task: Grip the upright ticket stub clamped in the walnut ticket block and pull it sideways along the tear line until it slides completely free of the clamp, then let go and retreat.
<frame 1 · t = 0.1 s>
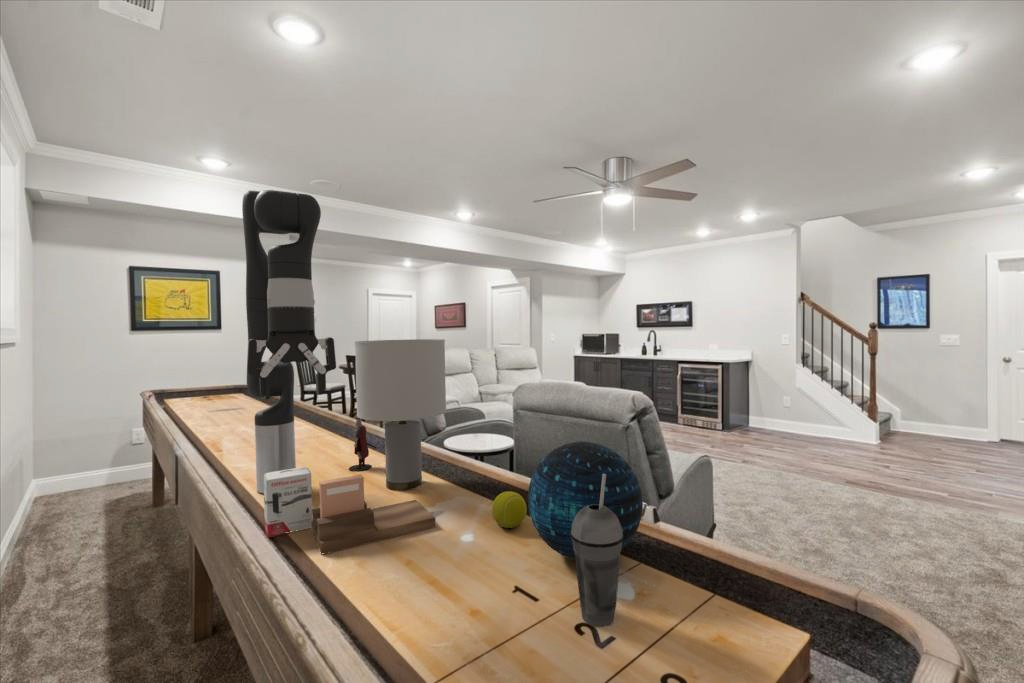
hand: (293, 396, 84), 29 cm above the table, fingers open, 8 cm apart
beverage cup: (598, 618, 66), on the table
ticket block: (343, 535, 93), on the table
tennis ball: (509, 527, 97), on the table
figurine: (361, 468, 140), on the table
decorative sphere: (585, 556, 84), on the table
lamp: (404, 485, 124), on the table
ink box: (289, 530, 97), on the table
stub: (342, 501, 93), point 7 cm above the table, slide at 0.0 cm
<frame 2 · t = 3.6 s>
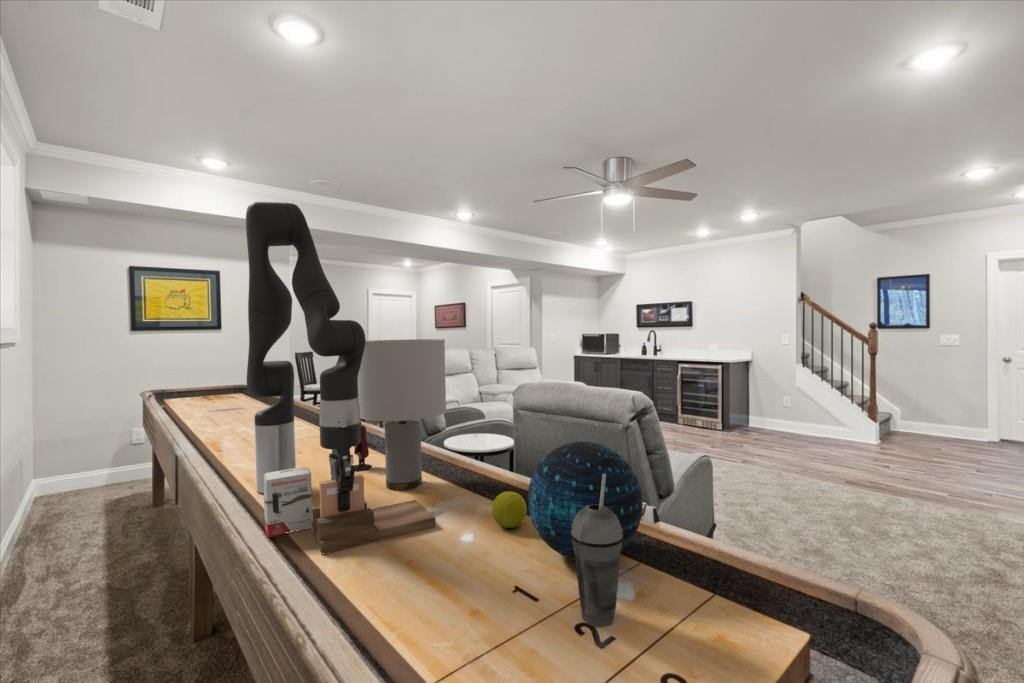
hand: (342, 508, 93), 6 cm above the table, fingers closed on stub, 2 cm apart
stub: (342, 501, 93), point 7 cm above the table, slide at 0.0 cm, touching gripper
everything else where it was.
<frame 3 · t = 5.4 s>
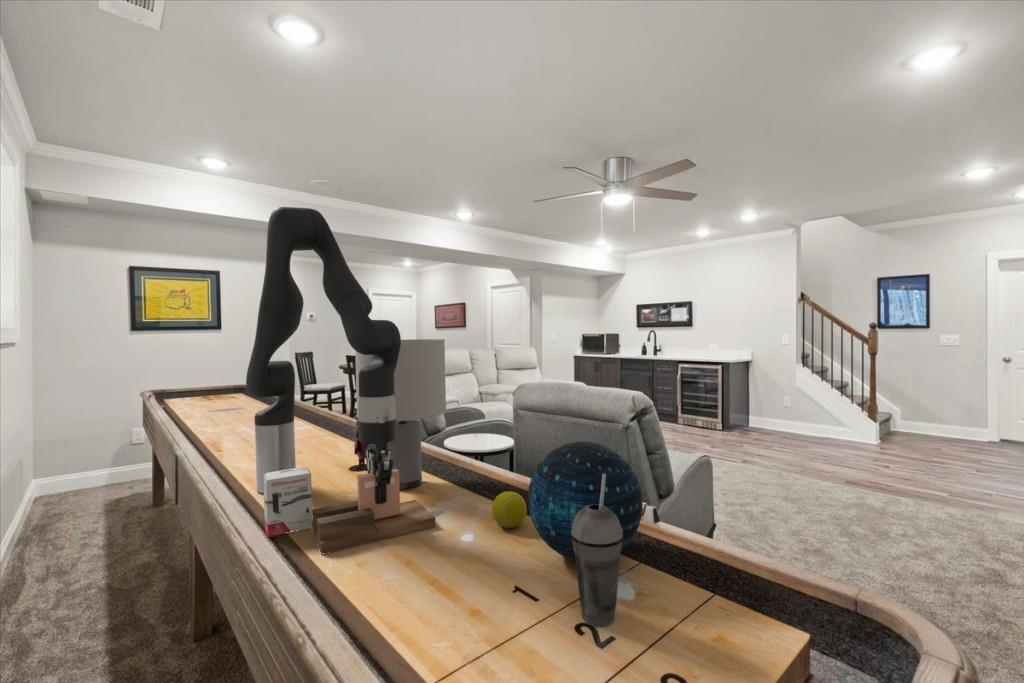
hand: (379, 500, 97), 6 cm above the table, fingers closed on stub, 2 cm apart
stub: (379, 494, 97), point 7 cm above the table, slide at 7.2 cm, touching gripper
everything else where it was.
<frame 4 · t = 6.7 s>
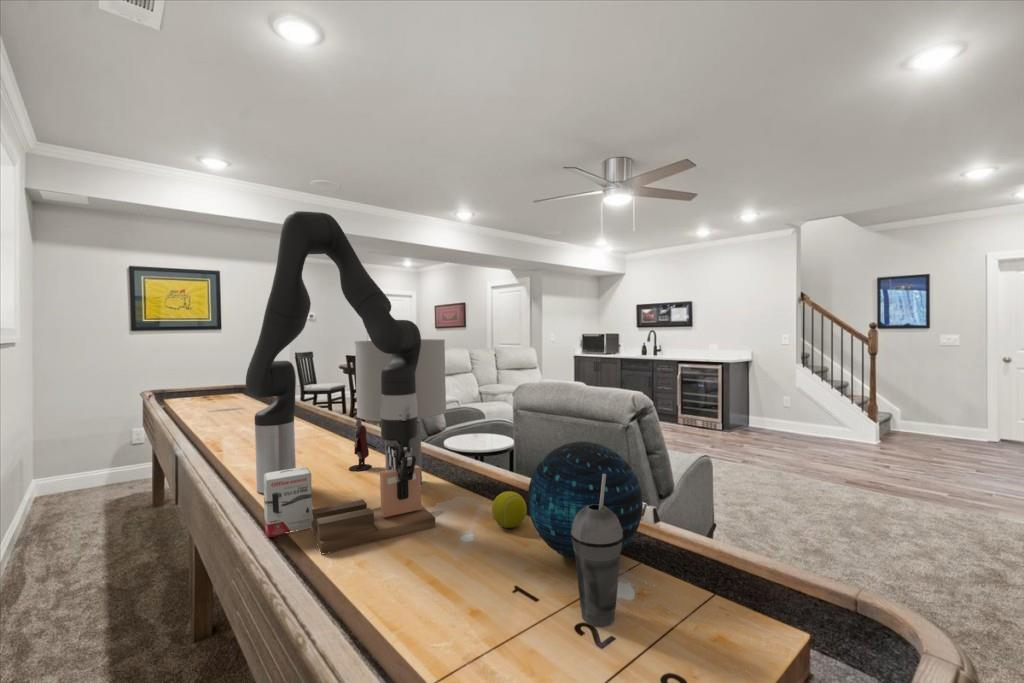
hand: (400, 496, 99), 6 cm above the table, fingers closed on stub, 2 cm apart
stub: (400, 490, 99), point 7 cm above the table, slide at 11.8 cm, touching gripper
everything else where it was.
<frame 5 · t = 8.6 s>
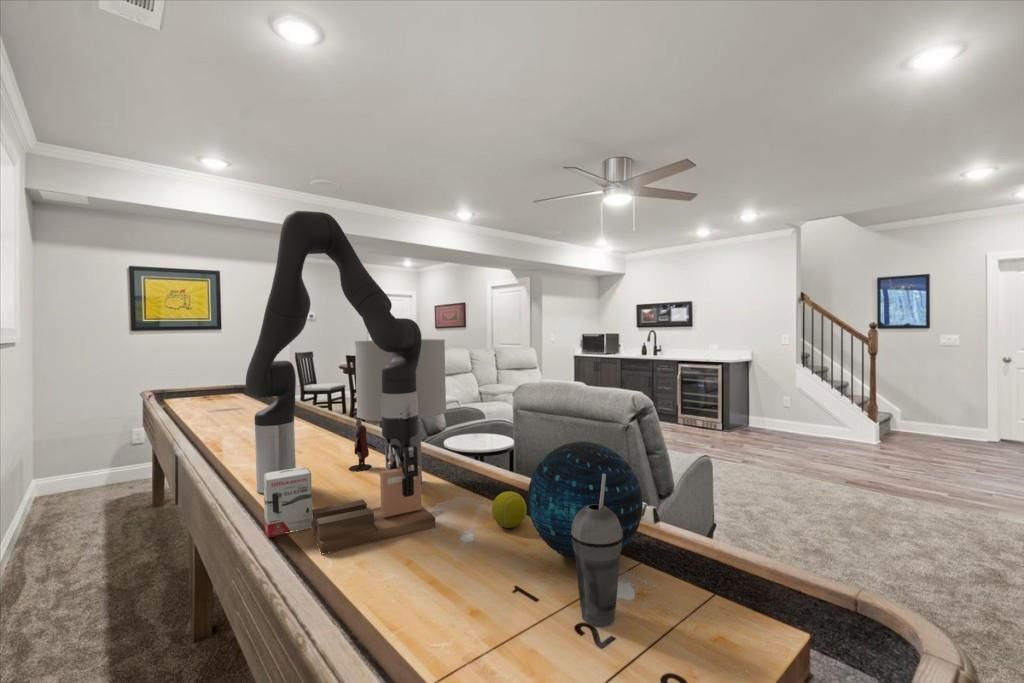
hand: (401, 489, 99), 7 cm above the table, fingers open, 8 cm apart
stub: (400, 490, 99), point 7 cm above the table, slide at 11.8 cm
everything else where it was.
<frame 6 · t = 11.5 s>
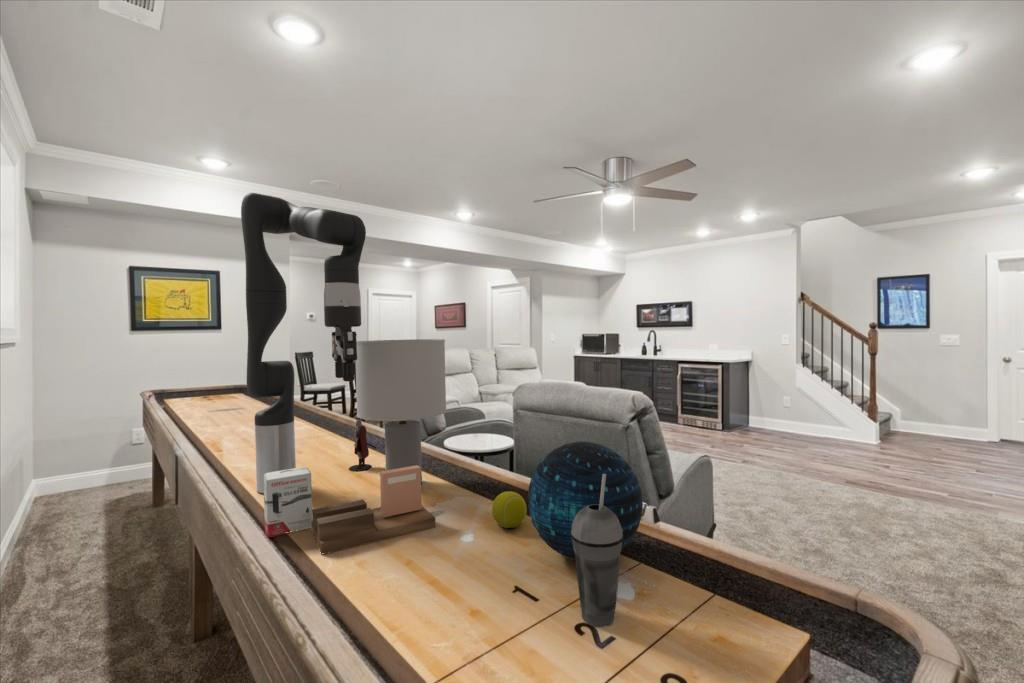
hand: (344, 379, 103), 30 cm above the table, fingers open, 8 cm apart
nothing on the table moved.
at the end: stub slide at 11.8 cm; the gripper is holding nothing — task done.
